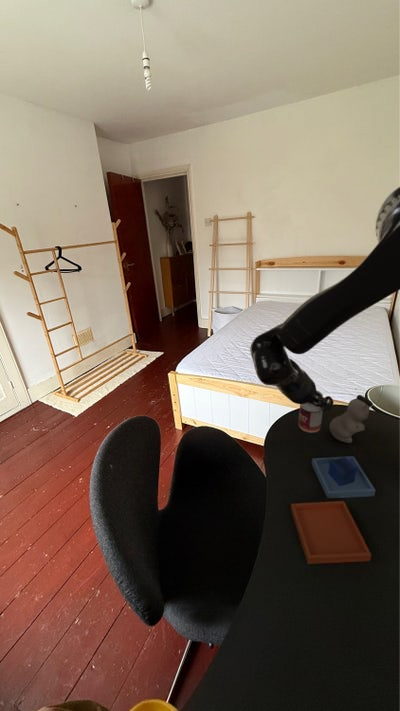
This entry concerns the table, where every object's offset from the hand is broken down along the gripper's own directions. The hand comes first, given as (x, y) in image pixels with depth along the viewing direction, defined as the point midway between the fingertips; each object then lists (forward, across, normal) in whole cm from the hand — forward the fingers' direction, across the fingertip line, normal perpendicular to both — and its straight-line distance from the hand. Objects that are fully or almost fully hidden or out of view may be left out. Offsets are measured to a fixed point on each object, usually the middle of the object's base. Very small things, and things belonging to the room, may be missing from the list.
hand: (314, 403), depth 85 cm
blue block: (+3, -13, +15) cm, 20 cm away
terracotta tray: (-8, -16, +27) cm, 33 cm away
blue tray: (+3, -13, +16) cm, 20 cm away
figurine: (+15, -8, +4) cm, 17 cm away
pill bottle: (+4, 0, +6) cm, 8 cm away
